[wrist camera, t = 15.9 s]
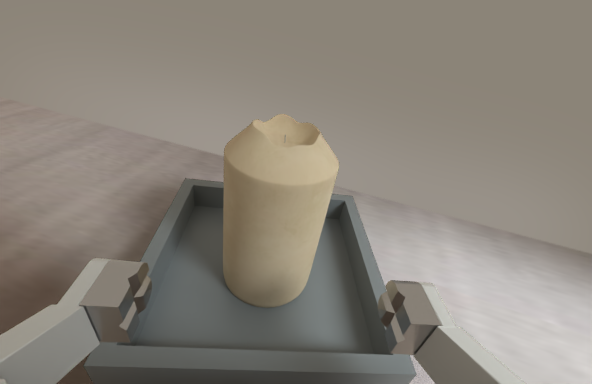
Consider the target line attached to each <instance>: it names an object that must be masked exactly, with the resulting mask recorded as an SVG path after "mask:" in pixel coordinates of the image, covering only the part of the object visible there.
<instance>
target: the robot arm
mask: <svg viewBox="0 0 592 384" xmlns="http://www.w3.org/2000/svg"><path fill="white" fill-rule="evenodd" d="M148 271H149V267H148V263H145V262H135V261H125V260H115V259H103V258H94V259H92V260H91V261H89V262H88V264H87V265H86V266H85V268H84V269H83V270H82V272H81V273H80V274H79V276H78V277H77V278H76V280H75V281H74V282H73V284H72V285H71V286H70V288H69V289H68V290H67V292H66V293H65V294H64V296H63V297H62V298H61V300H60V301H59V302H58V304H57V305H49V306H48V307H46V308H44V309H43V310H41V311H40V312H38V313H36V314H35V315H33V316H31V317H30V318H28V319H26V320H25V321H23V322H21V323H20V324H18V325H16V326H15V327H13V328H11V329H10V330H8V331H6V332H5V333H3V334H1V335H0V384H56V383H57V382H58V381H59V380H61V379H62V378H63V377H64V376H65V375H66V374H67V373H68V372H69V371H71V370H72V369H73V368H74V367H75V366H76V365H77V364H78V363H79V362H81V361H82V360H83V359H84V358H85V357H86V356H87V355H88V354H89V353H90V352H92V351H93V350H94V349H95V348H96V347H97V346H98V345H99V344H100V342H126V343H130V342H131V340H132V338H133V336H134V333H135V331H136V329H137V327H138V325H139V322H140V320H139V316H138V314H139V313H140V312H142V311H143V310H144V309H145V308H146V307H147V304H148V302H149V300H150V296H151V292H152V281H151V278H149V277H148V276H147V273H148ZM385 287H386V290H387V291H386V292H385V293H383V294H381V296H380V298H379V300H378V314H379V318H380V321H381V322H382V323H383V324H384V326H385V327H386V331H385V333H384V334H385V338H386V341H387V344H388V347H389V351H390V353H391V354H405V355H415V356H414V357H415V359H416V360H417V361H418V362H419V364H420V365H421V366H422V367H423V369H424V370H425V371H426V372H427V374H428V375H429V376H430V377H431V379H432V380H433V381H434V382H435V384H526V383H525V382H524V381H523V380H522V379H520V378H519V377H518V376H517V375H516V374H515V373H513V372H512V371H511V370H510V369H509V368H508V367H507V366H505V365H504V364H503V363H502V362H501V361H500V360H498V359H497V358H496V357H495V356H494V355H493V354H491V353H490V352H489V351H488V350H487V349H486V348H485V347H483V346H482V345H481V344H480V343H479V342H478V341H476V340H475V339H474V338H473V337H472V336H471V335H469V334H468V333H467V332H466V331H465V330H464V329H463V328H461V327H457V326H456V324H455V322H454V320H453V318H452V317H451V315H450V313H449V311H448V309H447V307H446V306H445V304H444V302H443V300H442V298H441V296H440V294H439V293H438V291H437V289H436V287H435V286H434V285H433V284H432V283H421V282H411V281H395V280H391V281H389V282H388V283H387V285H386V286H385Z"/></svg>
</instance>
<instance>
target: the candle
mask: <svg viewBox="0 0 592 384" xmlns="http://www.w3.org/2000/svg"><path fill="white" fill-rule="evenodd" d="M338 170H339V162H338V159H337V157H336V156H335V154H334V153H333V151H332V149H331V148H330V147H329V145H328V143H327V142H326V141H325V139H324V138H323V136H322V134H321V132H320V131H319V130H318V128H317V127H315V126H314V125H313V124H311V123H298V122H297V121H295V120H294V119H293V118H291V117H290V116H288V115H285V114H279V115H276V116H274V117H273V118H271V119H270V120H268V121H266V122H262V121H260V120H259V119H256V120H254V121H253V122H252V123H251V124H250V125H249V126H248V127H247V128H246V129H244V130H243V131H242V132H240V133H239V134H238V135H236V136H235V137H234V138H233V139H232V140H230V141H229V142H228V143H227V145H226V146H225V149H224V207H223V274H224V278H225V282H226V284H227V286H228V288H229V290H230V291H231V292H232V293H233V294H234V296H236V297H237V298H238V299H240V300H241V301H243V302H245V303H247V304H249V305H252V306H256V307H263V308H271V307H278V306H282V305H285V304H287V303H289V302H291V301H292V300H294V299H295V298H296V297H298V296H299V295H300V293H301V292H302V291H303V289H304V287H305V286H306V283H307V281H308V278H309V275H310V271H311V268H312V264H313V260H314V257H315V253H316V250H317V246H318V242H319V239H320V235H321V232H322V228H323V224H324V221H325V217H326V213H327V210H328V206H329V203H330V199H331V195H332V192H333V188H334V184H335V181H336V177H337V173H338Z"/></svg>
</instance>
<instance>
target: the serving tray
mask: <svg viewBox="0 0 592 384" xmlns="http://www.w3.org/2000/svg"><path fill="white" fill-rule="evenodd" d="M223 207H224V182H215V181H206V180H196V179H187V178H185V180H184V182H183V184H182V185H181V187H180V189H179V191H178V193H177V195H176V196H175V198H174V200H173V202H172V204H171V206H170V208H169V209H168V211H167V213H166V215H165V217H164V219H163V220H162V222H161V224H160V226H159V228H158V230H157V231H156V233H155V235H154V237H153V239H152V241H151V242H150V244H149V246H148V248H147V250H146V252H145V253H144V255H143V257H142V259H141V261H140V262H145V263H148V267H149V271H148V273H147V276H148V277H149V278H151V281H152V292H151V296H150V300H149V302H148V304H147V307H146V308H145V309H144V310H143V311H142V312H140V313H139V314H138V316H139V320H140V322H139V325H138V327H137V329H136V331H135V333H134V336H133V338H132V340H131V342H130V343H126V342H100V344H99V345H98V346H97V347H96V348H95V349H94V350H93V351H92V352H91V353H90V355H89V356H88V358H87V360H86V362H85V364H84V368H85V370H86V371H87V373H88V375H89V376H90V378H91V380H92V382H93V383H94V384H409V383H410V382H411V380H412V379H413V378H414V377H415V376H416V372H415V369H414V366H413V363H412V361H411V358H410V355H405V354H391V353H390V351H389V347H388V344H387V341H386V338H385V334H384V333H385V331H386V327H385V326H384V324H383V323H382V322H381V321H380V318H379V314H378V300H379V298H380V296H381V294H383V293H385V292H386V288H385V285H384V283H383V280H382V277H381V274H380V271H379V269H378V266H377V263H376V260H375V258H374V255H373V252H372V249H371V246H370V244H369V241H368V238H367V235H366V232H365V230H364V227H363V224H362V221H361V219H360V216H359V213H358V210H357V207H356V205H355V202H354V199H353V196H348V195H338V194H332V195H331V199H330V203H329V206H328V210H327V213H326V217H325V221H324V224H323V228H322V232H321V235H320V239H319V242H318V246H317V250H316V253H315V257H314V260H313V264H312V268H311V271H310V275H309V278H308V281H307V283H306V286H305V287H304V289H303V291H302V292H301V293H300V295H299V296H298V297H296V298H295V299H294V300H292V301H291V302H289V303H287V304H285V305H282V306H278V307H271V308H263V307H256V306H252V305H249V304H247V303H245V302H243V301H241V300H240V299H238V298H237V297H236V296H234V294H233V293H232V292H231V291H230V290H229V288H228V286H227V284H226V282H225V278H224V274H223Z"/></svg>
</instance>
